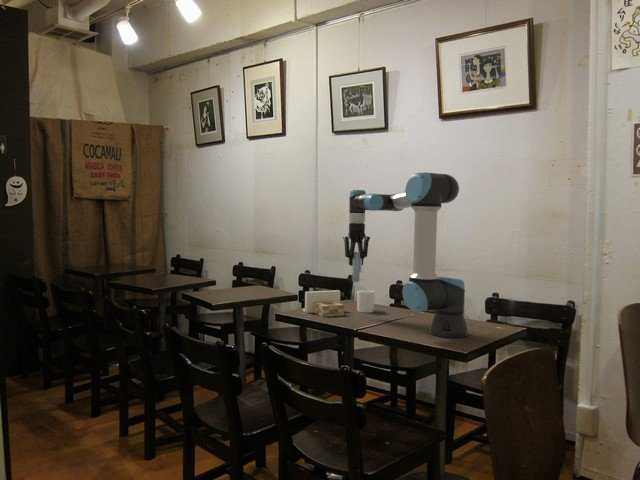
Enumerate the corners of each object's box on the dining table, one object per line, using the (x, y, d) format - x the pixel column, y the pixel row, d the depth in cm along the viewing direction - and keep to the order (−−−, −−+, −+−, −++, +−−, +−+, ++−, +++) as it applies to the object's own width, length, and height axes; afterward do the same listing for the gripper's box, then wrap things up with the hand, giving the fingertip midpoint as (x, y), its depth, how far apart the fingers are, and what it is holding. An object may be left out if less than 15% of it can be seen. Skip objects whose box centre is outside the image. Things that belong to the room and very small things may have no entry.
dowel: (360, 281, 250) (361, 252, 250) (354, 281, 249) (354, 252, 248) (357, 280, 254) (357, 251, 253) (350, 281, 252) (351, 251, 252)
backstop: (339, 310, 265) (340, 290, 264) (306, 312, 258) (307, 292, 257) (335, 309, 270) (335, 289, 269) (302, 311, 262) (303, 291, 262)
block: (343, 315, 253) (343, 304, 253) (322, 316, 249) (323, 306, 249) (333, 311, 263) (334, 301, 263) (313, 312, 259) (313, 302, 259)
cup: (353, 311, 264) (354, 291, 263) (366, 308, 273) (367, 288, 273) (367, 313, 259) (368, 293, 258) (380, 310, 268) (381, 290, 268)
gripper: (368, 222, 257) (367, 270, 258) (338, 222, 250) (337, 271, 251) (375, 223, 250) (374, 272, 251) (345, 222, 243) (343, 273, 244)
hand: (355, 272), depth 251 cm, fingers closed on dowel, 3 cm apart
